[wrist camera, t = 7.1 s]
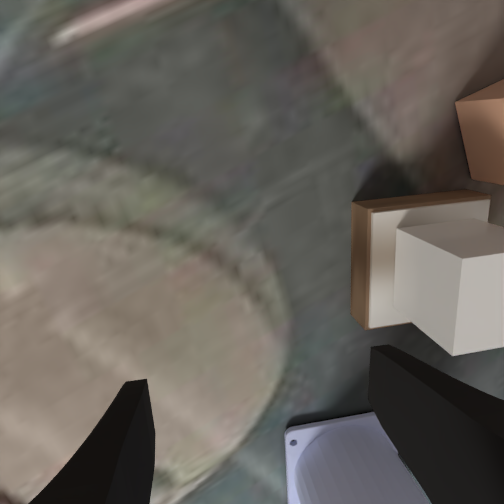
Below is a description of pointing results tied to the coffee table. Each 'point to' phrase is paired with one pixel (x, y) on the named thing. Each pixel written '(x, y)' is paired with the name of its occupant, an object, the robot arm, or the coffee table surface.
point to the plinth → (384, 245)
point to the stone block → (452, 283)
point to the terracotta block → (484, 132)
